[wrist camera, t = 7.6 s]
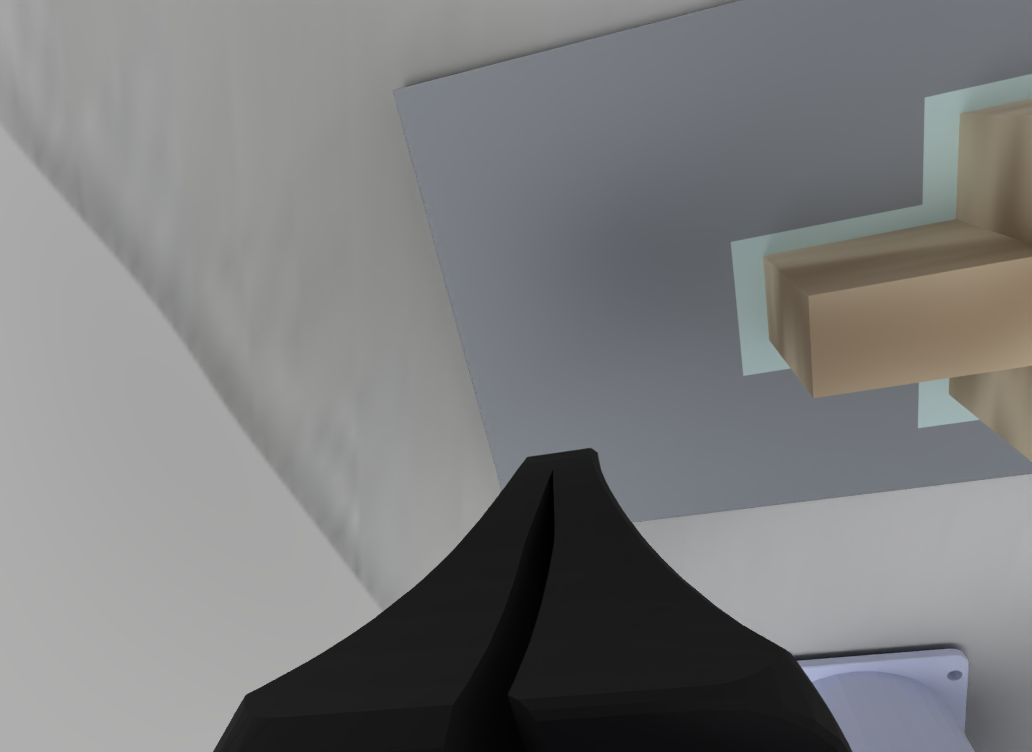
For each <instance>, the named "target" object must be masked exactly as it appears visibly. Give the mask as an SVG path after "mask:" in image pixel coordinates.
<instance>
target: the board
mask: <svg viewBox="0 0 1032 752" xmlns="http://www.w3.org/2000/svg"><path fill="white" fill-rule="evenodd" d="M393 93H394V97H395V101H396V104H397V108H398V112H399V115H400V119H401V123H402V126H403V130H404V134H405V137H406V141H407V145H408V148H409V152H410V156H411V159H412V163H413V167H414V170H415V174H416V178H417V181H418V185H419V189H420V192H421V196H422V200H423V203H424V207H425V211H426V214H427V218H428V222H429V225H430V229H431V233H432V236H433V240H434V244H435V247H436V251H437V255H438V258H439V262H440V266H441V269H442V273H443V277H444V280H445V284H446V288H447V291H448V295H449V299H450V302H451V306H452V310H453V313H454V317H455V321H456V324H457V328H458V332H459V335H460V339H461V343H462V346H463V350H464V354H465V357H466V361H467V365H468V368H469V372H470V376H471V379H472V383H473V387H474V390H475V394H476V398H477V401H478V405H479V409H480V412H481V416H482V420H483V423H484V427H485V430H486V434H487V438H488V441H489V445H490V449H491V452H492V456H493V460H494V463H495V467H496V471H497V474H498V478H499V482H500V485H501V489H502V490H503V489H504V487H505V486H506V485H507V483H508V482H509V480H510V479H511V478H512V476H513V475H514V473H515V472H516V471H517V469H518V468H519V467H520V465H521V464H522V463H523V461H524V460H525V459H526V458H527V457H530V456H537V455H544V454H551V453H558V452H565V451H572V450H578V449H585V448H592V449H593V450H595V451H596V452H598V456H599V461H600V466H601V471H602V473H603V476H604V478H605V480H606V482H607V484H608V486H609V488H610V490H611V492H612V493H613V495H614V496H615V498H616V500H617V501H618V503H619V505H620V506H621V508H622V509H623V511H624V512H625V514H626V515H627V517H628V518H629V520H630V521H631V522H639V521H647V520H656V519H664V518H672V517H680V516H689V515H697V514H705V513H713V512H721V511H730V510H738V509H746V508H754V507H762V506H771V505H779V504H787V503H795V502H803V501H812V500H820V499H828V498H836V497H844V496H853V495H861V494H869V493H877V492H885V491H894V490H902V489H910V488H918V487H926V486H935V485H943V484H951V483H959V482H967V481H976V480H984V479H992V478H1000V477H1008V476H1017V475H1025V474H1032V462H1031V461H1030V460H1029V459H1027V458H1026V457H1025V456H1024V455H1022V454H1021V453H1020V452H1019V451H1018V450H1016V449H1015V448H1014V447H1013V446H1011V445H1010V444H1009V443H1008V442H1007V441H1005V440H1004V439H1003V438H1002V437H1000V436H999V435H998V434H997V433H995V432H994V431H993V430H992V429H991V428H989V427H988V426H987V425H986V424H984V423H983V422H982V421H981V420H980V419H978V418H977V417H976V416H975V415H973V414H972V413H971V412H970V411H969V410H967V409H966V408H965V407H964V406H962V405H961V404H960V403H959V402H957V401H956V400H955V399H954V398H953V397H951V396H950V395H949V378H946V379H939V380H932V381H926V382H919V383H912V384H906V385H899V386H892V387H886V388H879V389H872V390H865V391H859V392H852V393H845V394H839V395H832V396H825V397H819V398H813V397H812V396H811V394H810V393H809V392H808V390H807V389H806V388H805V387H804V385H803V384H802V383H801V381H800V380H799V379H798V377H797V376H796V375H795V373H794V372H793V371H792V369H791V368H790V367H789V366H788V364H787V363H786V362H785V360H784V359H783V358H782V356H781V355H780V354H779V352H778V351H777V350H776V348H775V347H774V346H773V344H772V343H771V342H770V341H769V330H768V317H767V304H766V290H765V277H764V264H763V256H764V255H769V254H775V253H780V252H785V251H790V250H796V249H801V248H806V247H812V246H817V245H822V244H827V243H833V242H838V241H843V240H849V239H854V238H859V237H864V236H870V235H875V234H880V233H885V232H891V231H896V230H901V229H907V228H912V227H917V226H922V225H928V224H933V223H938V222H944V221H949V220H954V219H956V196H957V171H958V146H959V121H960V113H964V112H969V111H974V110H978V109H983V108H987V107H992V106H997V105H1001V104H1006V103H1011V102H1015V101H1020V100H1025V99H1029V98H1032V0H740V1H736V2H732V3H728V4H724V5H720V6H716V7H712V8H709V9H705V10H701V11H697V12H693V13H689V14H685V15H682V16H678V17H674V18H670V19H666V20H662V21H658V22H655V23H651V24H647V25H643V26H639V27H635V28H631V29H628V30H624V31H620V32H616V33H612V34H608V35H604V36H600V37H597V38H593V39H589V40H585V41H581V42H577V43H573V44H570V45H566V46H562V47H558V48H554V49H550V50H546V51H543V52H539V53H535V54H531V55H527V56H523V57H519V58H516V59H512V60H508V61H504V62H500V63H496V64H492V65H488V66H485V67H481V68H477V69H473V70H469V71H465V72H461V73H458V74H454V75H450V76H446V77H442V78H438V79H434V80H431V81H427V82H423V83H419V84H415V85H411V86H407V87H404V88H400V89H396V90H393Z"/></svg>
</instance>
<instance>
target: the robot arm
mask: <svg viewBox="0 0 1032 752" xmlns="http://www.w3.org/2000/svg"><path fill="white" fill-rule="evenodd" d="M968 673H969V661H968V659H967V658H966V656H965V655H964V653H963V652H962V651H960V650H958V649H938V650H925V651H913V652H900V653H888V654H875V655H863V656H850V657H838V658H825V659H813V660H800V661H796V659H795V658H794V657H793V655H792V654H791V653H790V652H788V651H787V650H785V649H783V648H782V647H780V646H778V645H776V644H775V643H773V642H771V641H770V640H768V639H766V638H764V637H763V636H761V635H759V634H757V633H756V632H754V631H752V630H750V629H749V628H747V627H745V626H743V625H742V624H740V623H739V622H738V621H736V620H735V619H733V618H732V617H730V616H729V615H728V614H726V613H725V612H723V611H722V610H721V609H719V608H718V607H716V606H715V605H714V604H713V603H712V602H710V601H709V600H708V599H707V598H705V597H704V596H703V595H702V594H701V593H699V592H698V591H697V590H696V589H695V588H693V587H692V586H691V585H690V584H688V583H687V582H686V581H685V580H684V579H682V578H681V577H680V576H679V575H678V574H677V573H676V572H675V571H674V570H673V569H672V568H671V567H670V566H669V565H668V564H667V563H666V562H665V561H664V560H663V559H662V558H661V557H660V556H659V555H658V554H657V553H656V551H655V550H654V549H653V548H652V547H651V546H650V545H649V544H648V542H647V541H646V540H645V539H644V538H643V536H642V535H641V534H640V533H639V532H638V530H637V529H636V528H635V526H634V525H633V524H632V522H631V521H630V520H629V518H628V517H627V515H626V514H625V512H624V511H623V509H622V508H621V506H620V505H619V503H618V501H617V500H616V498H615V496H614V495H613V493H612V492H611V490H610V488H609V486H608V484H607V482H606V480H605V478H604V476H603V473H602V471H601V466H600V461H599V456H598V452H596V451H595V450H593V449H592V448H585V449H578V450H572V451H565V452H558V453H551V454H544V455H537V456H530V457H527V458H526V459H525V460H524V461H523V463H522V464H521V465H520V467H519V468H518V469H517V471H516V472H515V473H514V475H513V476H512V478H511V479H510V480H509V482H508V483H507V485H506V486H505V487H504V489H503V490H502V491H501V493H500V494H499V496H498V497H497V498H496V499H495V501H494V502H493V503H492V505H491V506H490V507H489V509H488V510H487V511H486V512H485V514H484V515H483V516H482V518H481V519H480V520H479V521H478V522H477V524H476V525H475V526H474V527H473V528H472V529H471V530H470V532H469V533H468V534H467V535H466V536H465V537H464V539H463V540H462V541H461V542H460V543H459V544H458V545H457V547H456V548H455V549H454V550H453V551H452V552H451V553H450V554H449V555H448V556H447V557H446V558H445V559H444V560H443V561H442V562H441V563H440V564H439V565H438V566H437V567H436V568H435V569H433V570H432V571H431V572H430V573H429V574H428V575H427V576H426V577H425V578H424V579H423V580H422V581H420V582H419V583H418V584H417V585H416V586H415V587H414V588H412V589H411V590H410V591H409V592H407V593H406V594H405V595H403V596H402V597H401V598H400V599H398V600H397V601H396V602H395V603H393V604H392V605H391V606H389V607H388V608H387V609H386V610H384V611H383V612H382V613H381V614H379V615H378V616H377V617H376V618H374V619H373V620H372V621H370V622H369V623H367V624H366V625H364V626H363V627H361V628H360V629H359V630H357V631H356V632H354V633H353V634H351V635H350V636H348V637H347V638H345V639H344V640H342V641H340V642H339V643H337V644H336V645H334V646H333V647H331V648H329V649H328V650H326V651H325V652H323V653H321V654H320V655H318V656H316V657H315V658H313V659H311V660H310V661H308V662H306V663H304V664H303V665H301V666H299V667H297V668H295V669H293V670H292V671H290V672H288V673H286V674H284V675H283V676H281V677H279V678H277V679H275V680H273V681H271V682H270V683H268V684H266V685H264V686H262V687H260V688H259V689H257V690H254V691H253V692H250V693H249V694H247V695H246V696H245V697H244V699H243V701H242V702H241V704H240V706H239V707H238V709H237V711H236V712H235V714H234V716H233V718H232V719H231V721H230V723H229V725H228V727H227V728H226V730H225V732H224V734H223V736H222V737H221V739H220V741H219V742H218V744H217V746H216V748H215V750H214V751H213V752H975V751H974V749H973V747H972V746H971V744H970V742H969V741H968V739H967V737H966V736H965V718H966V703H967V688H968Z"/></svg>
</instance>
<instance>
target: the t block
mask: <svg viewBox="0 0 1032 752" xmlns="http://www.w3.org/2000/svg"><path fill="white" fill-rule="evenodd" d="M763 264H764V277H765V290H766V304H767V317H768V330H769V341H770V342H771V343H772V344H773V346H774V347H775V348H776V350H777V351H778V352H779V354H780V355H781V356H782V358H783V359H784V360H785V362H786V363H787V364H788V366H789V367H790V368H791V369H792V371H793V372H794V373H795V375H796V376H797V377H798V379H799V380H800V381H801V383H802V384H803V385H804V387H805V388H806V389H807V390H808V392H809V393H810V394H811V396H812V397H813V398H819V397H825V396H832V395H839V394H845V393H852V392H859V391H865V390H872V389H879V388H886V387H892V386H899V385H906V384H912V383H919V382H926V381H932V380H939V379H946V378H949V395H950V396H951V397H953V398H954V399H955V400H956V401H957V402H959V403H960V404H961V405H962V406H964V407H965V408H966V409H967V410H969V411H970V412H971V413H972V414H973V415H975V416H976V417H977V418H978V419H980V420H981V421H982V422H983V423H984V424H986V425H987V426H988V427H989V428H991V429H992V430H993V431H994V432H995V433H997V434H998V435H999V436H1000V437H1002V438H1003V439H1004V440H1005V441H1007V442H1008V443H1009V444H1010V445H1011V446H1013V447H1014V448H1015V449H1016V450H1018V451H1019V452H1020V453H1021V454H1022V455H1024V456H1025V457H1026V458H1027V459H1029V460H1030V461H1031V462H1032V98H1029V99H1025V100H1020V101H1015V102H1011V103H1006V104H1001V105H997V106H992V107H987V108H983V109H978V110H974V111H969V112H964V113H960V121H959V146H958V171H957V196H956V219H954V220H949V221H944V222H938V223H933V224H928V225H922V226H917V227H912V228H907V229H901V230H896V231H891V232H885V233H880V234H875V235H870V236H864V237H859V238H854V239H849V240H843V241H838V242H833V243H827V244H822V245H817V246H812V247H806V248H801V249H796V250H790V251H785V252H780V253H775V254H769V255H764V256H763Z"/></svg>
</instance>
